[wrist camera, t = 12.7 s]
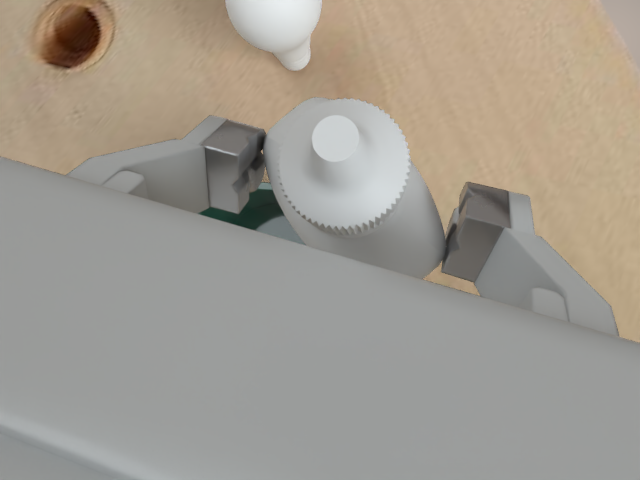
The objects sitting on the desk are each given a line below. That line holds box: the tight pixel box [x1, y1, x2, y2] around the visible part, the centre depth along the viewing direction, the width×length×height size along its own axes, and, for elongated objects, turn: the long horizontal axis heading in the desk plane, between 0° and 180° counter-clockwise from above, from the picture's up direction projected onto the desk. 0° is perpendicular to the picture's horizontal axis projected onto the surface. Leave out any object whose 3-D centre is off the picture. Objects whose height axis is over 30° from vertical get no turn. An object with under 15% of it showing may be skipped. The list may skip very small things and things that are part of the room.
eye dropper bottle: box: [263, 97, 446, 279], centre depth 12 cm, size 4×6×12 cm
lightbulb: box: [225, 0, 322, 71], centre depth 30 cm, size 6×6×11 cm
